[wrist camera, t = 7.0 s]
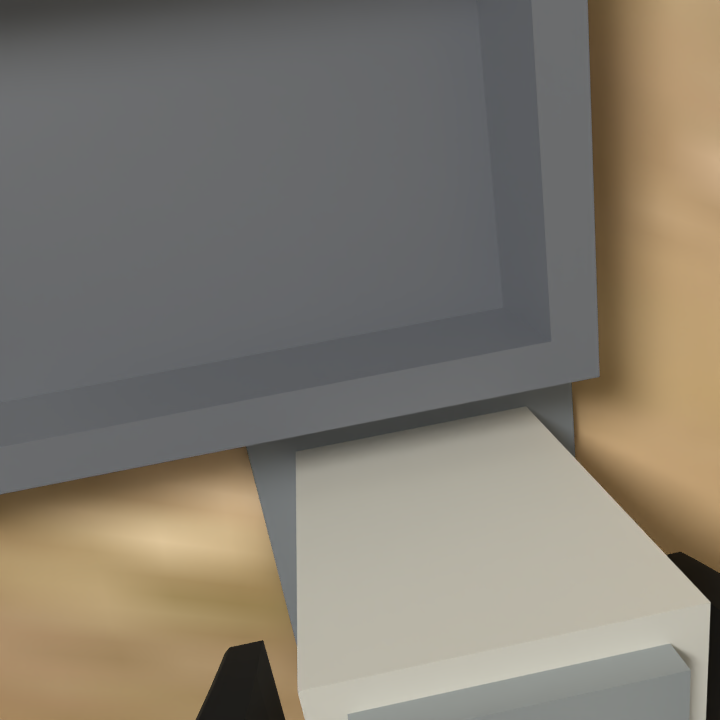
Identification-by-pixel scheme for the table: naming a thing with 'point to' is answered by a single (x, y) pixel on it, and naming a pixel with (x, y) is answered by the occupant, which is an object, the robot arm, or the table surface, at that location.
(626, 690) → the module
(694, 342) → the table surface
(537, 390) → the pad
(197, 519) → the table surface
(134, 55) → the case
